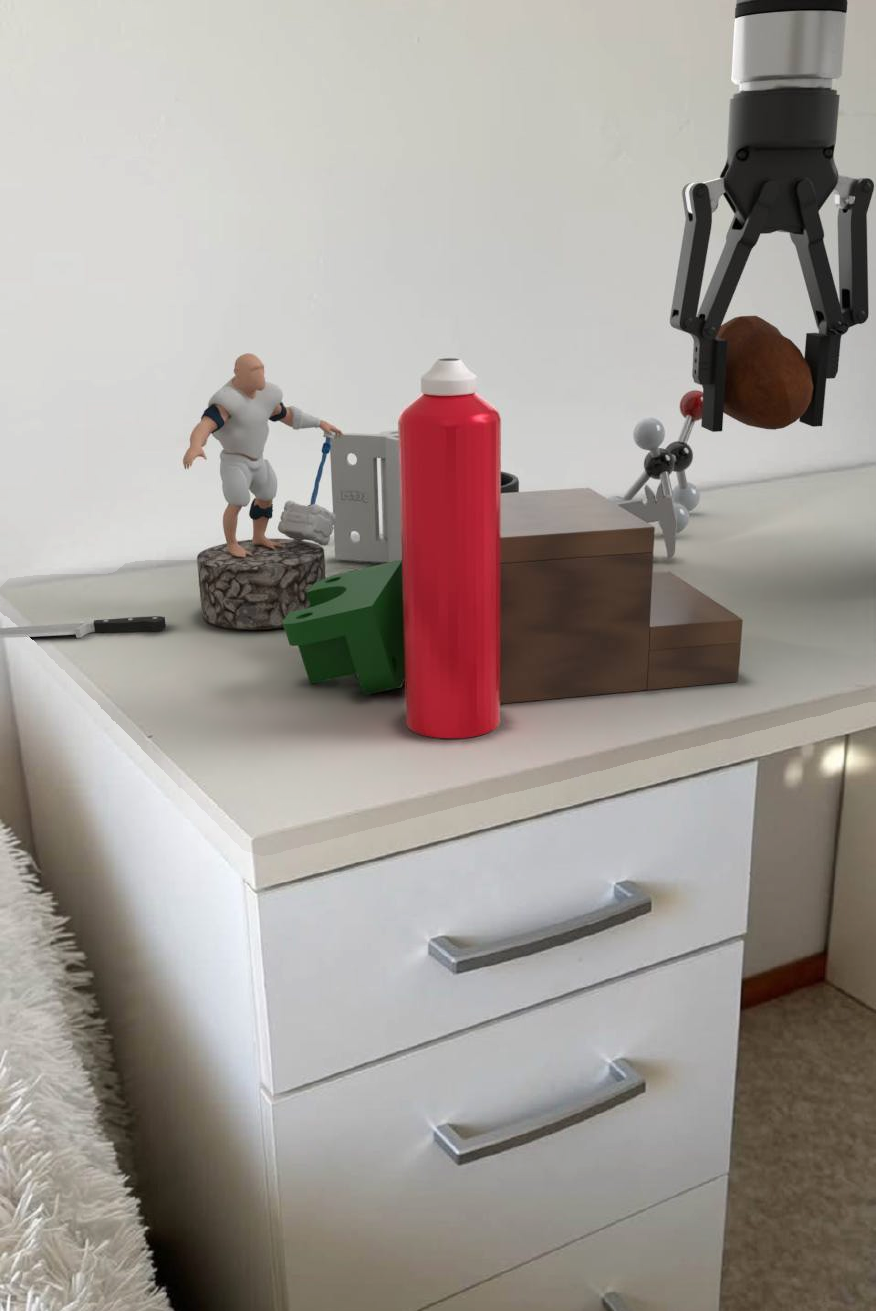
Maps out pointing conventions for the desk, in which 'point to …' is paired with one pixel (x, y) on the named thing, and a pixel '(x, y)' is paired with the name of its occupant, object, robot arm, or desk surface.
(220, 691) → the desk surface
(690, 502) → the molecular model
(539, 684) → the step shelf
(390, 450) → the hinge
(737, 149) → the robot arm
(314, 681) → the clamp
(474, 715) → the bottle
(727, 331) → the potato
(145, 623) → the knife
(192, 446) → the figurine
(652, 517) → the caliper
